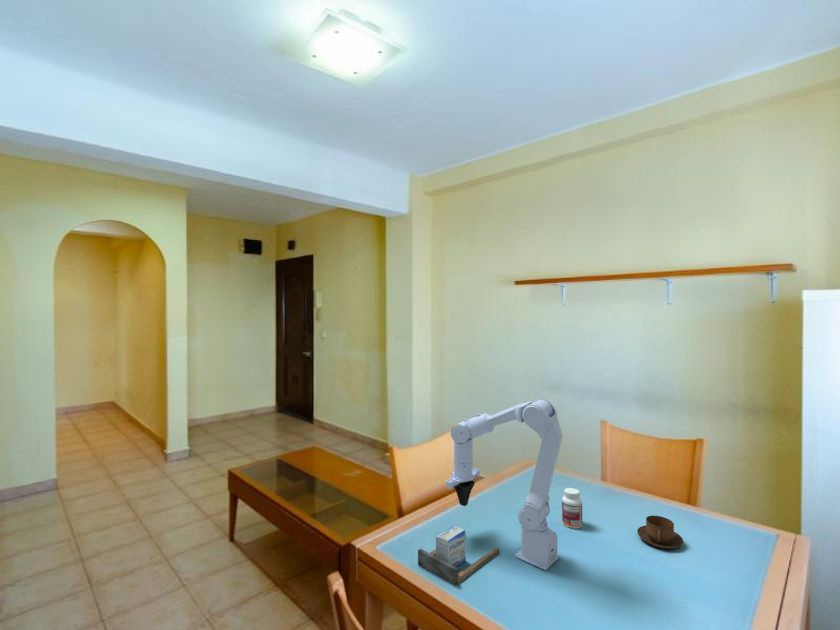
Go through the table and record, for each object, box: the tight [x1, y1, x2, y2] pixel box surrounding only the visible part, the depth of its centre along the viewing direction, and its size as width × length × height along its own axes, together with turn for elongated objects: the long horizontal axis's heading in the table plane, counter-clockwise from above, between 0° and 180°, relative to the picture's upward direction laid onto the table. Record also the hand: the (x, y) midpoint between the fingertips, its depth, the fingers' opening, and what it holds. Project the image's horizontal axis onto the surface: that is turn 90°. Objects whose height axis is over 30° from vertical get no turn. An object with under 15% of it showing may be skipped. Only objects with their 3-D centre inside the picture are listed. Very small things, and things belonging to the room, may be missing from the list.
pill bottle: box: [561, 487, 583, 530], centre depth 140 cm, size 6×6×11 cm
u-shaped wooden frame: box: [417, 533, 500, 586], centre depth 121 cm, size 13×20×4 cm, turn 137°
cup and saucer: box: [637, 515, 684, 550], centre depth 130 cm, size 12×12×6 cm
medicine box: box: [435, 525, 467, 568], centre depth 119 cm, size 8×4×9 cm, turn 138°
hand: (463, 504), depth 134 cm, fingers closed
